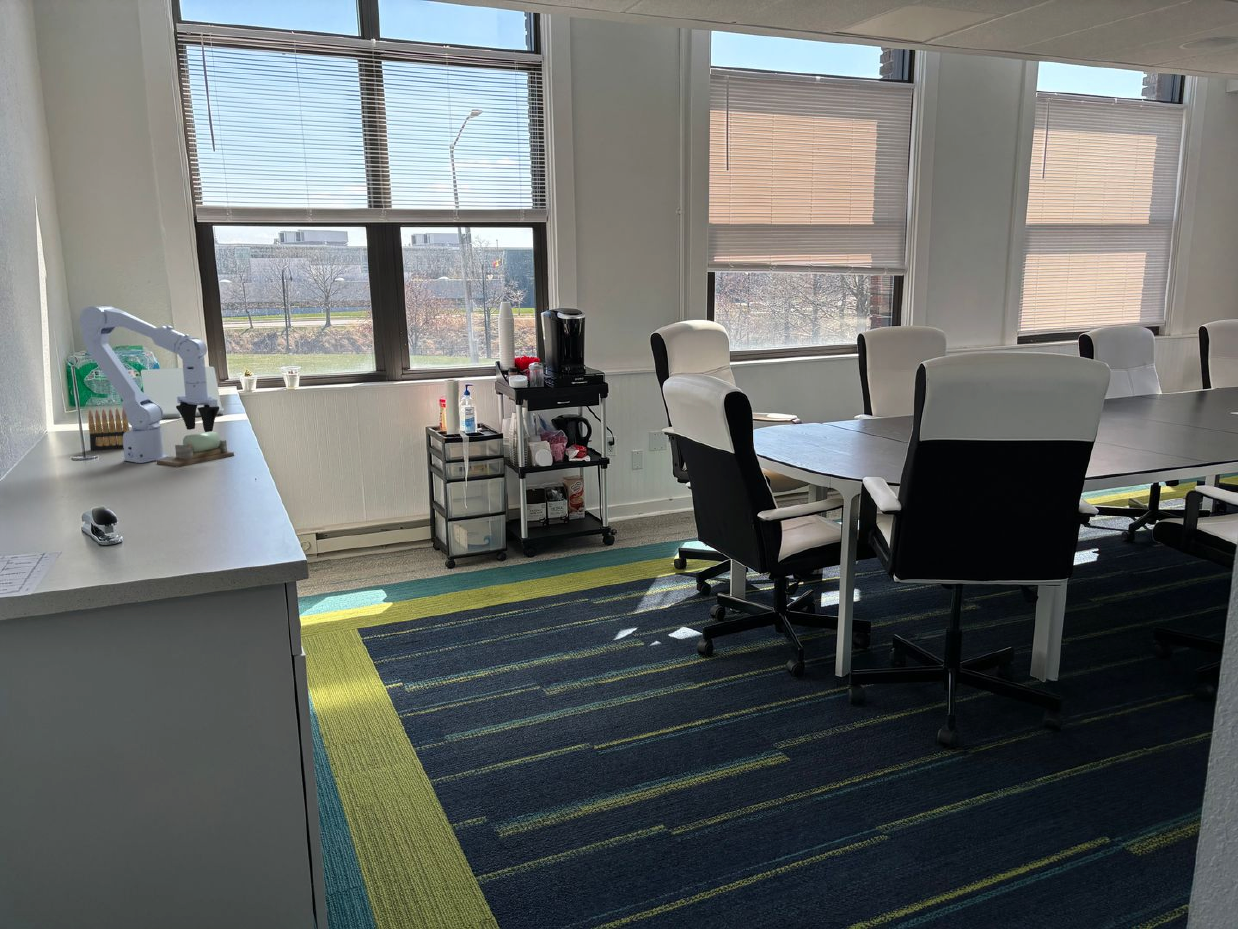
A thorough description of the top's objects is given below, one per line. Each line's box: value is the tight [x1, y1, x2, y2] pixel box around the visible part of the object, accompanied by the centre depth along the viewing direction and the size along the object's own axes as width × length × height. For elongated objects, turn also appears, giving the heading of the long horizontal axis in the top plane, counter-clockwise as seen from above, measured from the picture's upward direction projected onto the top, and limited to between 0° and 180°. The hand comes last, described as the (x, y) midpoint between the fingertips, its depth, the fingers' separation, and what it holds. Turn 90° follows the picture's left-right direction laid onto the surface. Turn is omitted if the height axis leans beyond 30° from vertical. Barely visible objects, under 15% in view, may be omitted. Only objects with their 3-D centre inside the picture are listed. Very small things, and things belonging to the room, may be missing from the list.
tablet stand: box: [140, 366, 225, 420], centre depth 337 cm, size 18×25×17 cm
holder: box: [156, 439, 235, 468], centre depth 257 cm, size 18×9×4 cm, turn 151°
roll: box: [182, 431, 221, 453], centre depth 259 cm, size 8×5×5 cm, turn 151°
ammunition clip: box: [88, 408, 130, 452], centre depth 272 cm, size 11×2×12 cm, turn 114°
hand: (199, 430), depth 258 cm, fingers open, 7 cm apart
